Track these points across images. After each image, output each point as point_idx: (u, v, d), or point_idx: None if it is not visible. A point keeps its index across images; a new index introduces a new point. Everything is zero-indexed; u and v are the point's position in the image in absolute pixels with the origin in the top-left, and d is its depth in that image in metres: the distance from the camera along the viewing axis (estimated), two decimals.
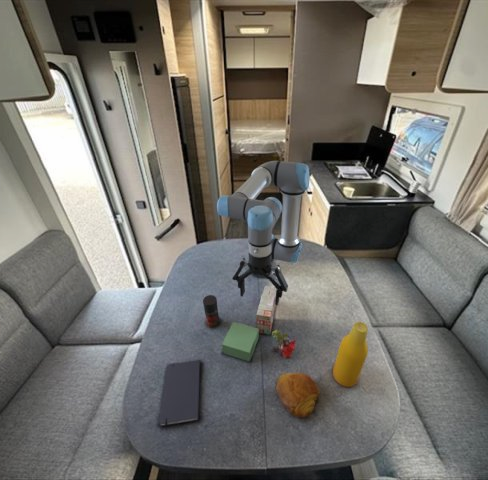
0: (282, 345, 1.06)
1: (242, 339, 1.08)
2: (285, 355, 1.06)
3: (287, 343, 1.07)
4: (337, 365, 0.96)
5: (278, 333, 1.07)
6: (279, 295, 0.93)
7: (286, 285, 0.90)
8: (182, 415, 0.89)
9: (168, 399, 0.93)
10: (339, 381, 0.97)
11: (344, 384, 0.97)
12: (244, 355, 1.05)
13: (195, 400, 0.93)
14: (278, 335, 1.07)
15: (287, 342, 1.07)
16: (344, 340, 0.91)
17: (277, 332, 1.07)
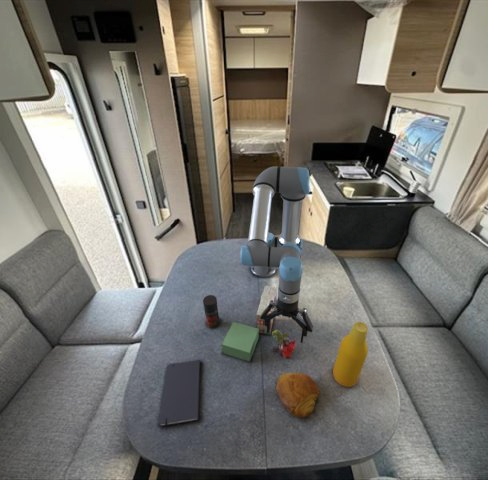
0: (282, 345, 1.06)
1: (242, 339, 1.08)
2: (285, 355, 1.06)
3: (287, 343, 1.07)
4: (337, 365, 0.96)
5: (278, 333, 1.07)
6: (304, 334, 0.99)
7: (311, 326, 0.97)
8: (182, 415, 0.89)
9: (168, 399, 0.93)
10: (339, 381, 0.97)
11: (344, 384, 0.97)
12: (244, 355, 1.05)
13: (195, 400, 0.92)
14: (278, 335, 1.07)
15: (287, 342, 1.07)
16: (344, 340, 0.91)
17: (277, 332, 1.07)
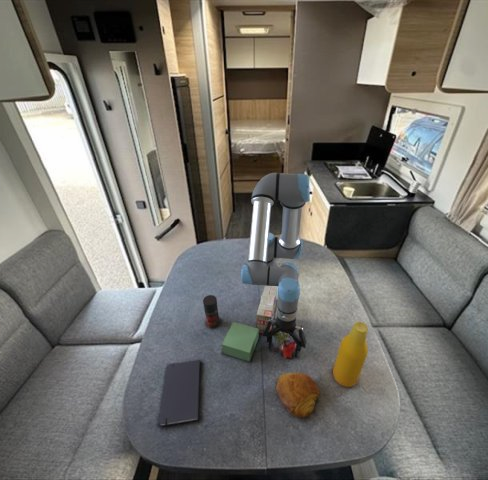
0: (282, 345, 1.06)
1: (242, 339, 1.08)
2: (285, 355, 1.06)
3: (287, 343, 1.07)
4: (337, 365, 0.96)
5: (278, 333, 1.07)
6: (298, 349, 1.05)
7: (305, 342, 1.03)
8: (182, 415, 0.89)
9: (168, 399, 0.93)
10: (339, 381, 0.97)
11: (344, 384, 0.97)
12: (244, 355, 1.05)
13: (195, 400, 0.92)
14: (279, 336, 1.07)
15: (287, 342, 1.07)
16: (344, 340, 0.91)
17: None
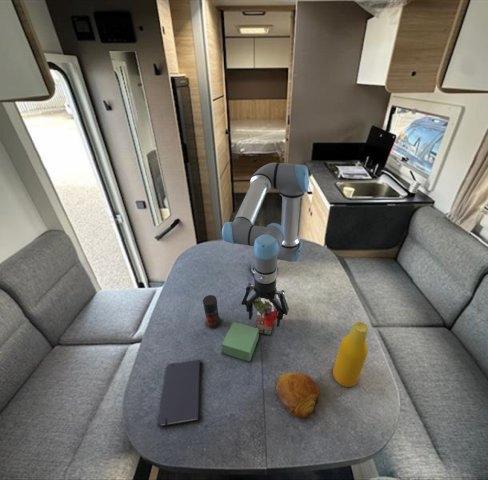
0: (263, 314, 0.98)
1: (242, 339, 1.08)
2: (267, 325, 0.98)
3: (269, 312, 0.99)
4: (337, 365, 0.96)
5: (259, 301, 0.99)
6: (280, 318, 0.97)
7: (287, 309, 0.95)
8: (182, 415, 0.89)
9: (168, 399, 0.93)
10: (339, 381, 0.97)
11: (344, 384, 0.97)
12: (244, 355, 1.05)
13: (195, 400, 0.92)
14: (259, 304, 0.98)
15: (269, 311, 0.99)
16: (344, 340, 0.91)
17: (258, 300, 0.99)
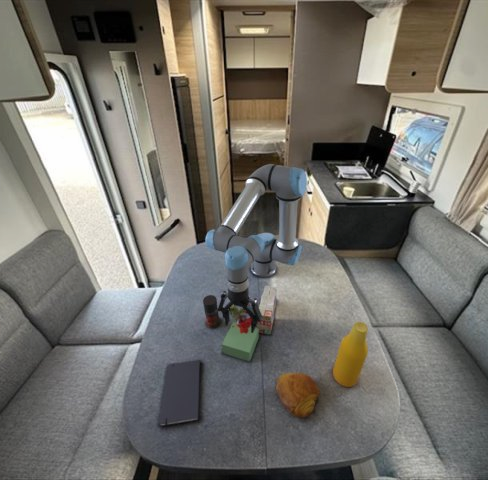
0: (238, 320, 1.02)
1: (242, 339, 1.08)
2: (241, 331, 1.02)
3: (244, 319, 1.03)
4: (337, 365, 0.96)
5: (234, 308, 1.03)
6: (254, 324, 1.01)
7: (260, 316, 0.99)
8: (182, 415, 0.89)
9: (168, 399, 0.93)
10: (339, 381, 0.97)
11: (344, 384, 0.97)
12: (244, 355, 1.05)
13: (195, 400, 0.92)
14: (234, 311, 1.03)
15: (244, 317, 1.03)
16: (344, 340, 0.91)
17: (233, 307, 1.03)
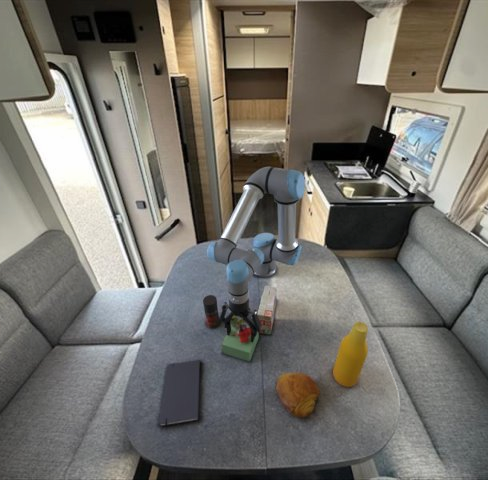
0: (238, 330, 1.05)
1: None
2: (241, 340, 1.05)
3: (244, 328, 1.06)
4: (337, 365, 0.96)
5: (235, 318, 1.06)
6: (254, 334, 1.05)
7: (260, 326, 1.02)
8: (182, 415, 0.89)
9: (168, 399, 0.93)
10: (339, 381, 0.97)
11: (344, 384, 0.97)
12: (244, 355, 1.05)
13: (195, 400, 0.92)
14: (235, 320, 1.06)
15: (244, 327, 1.06)
16: (344, 340, 0.91)
17: (234, 317, 1.07)
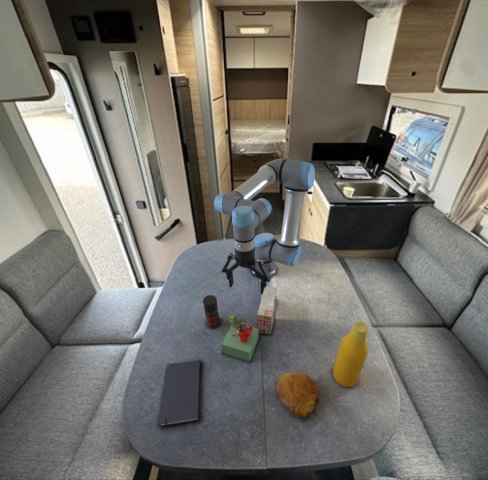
0: (238, 330, 1.05)
1: None
2: (241, 340, 1.05)
3: (244, 328, 1.06)
4: (337, 365, 0.96)
5: (235, 318, 1.06)
6: (263, 285, 1.03)
7: (269, 276, 1.01)
8: (182, 415, 0.89)
9: (168, 399, 0.93)
10: (339, 381, 0.97)
11: (344, 384, 0.97)
12: (244, 355, 1.05)
13: (195, 400, 0.92)
14: (235, 320, 1.06)
15: (244, 327, 1.06)
16: (344, 340, 0.91)
17: (234, 317, 1.07)
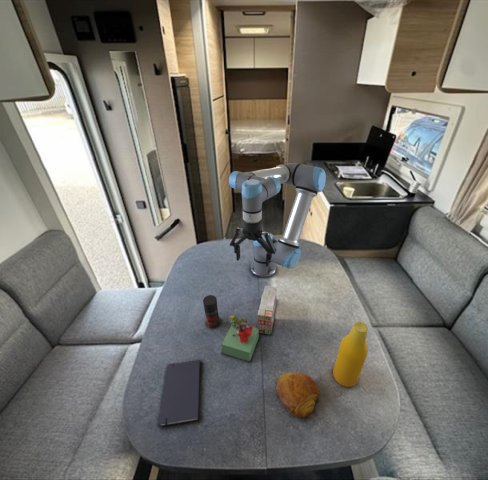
0: (238, 330, 1.05)
1: None
2: (241, 340, 1.05)
3: (244, 328, 1.06)
4: (337, 365, 0.96)
5: (235, 318, 1.06)
6: (269, 258, 1.10)
7: (274, 248, 1.08)
8: (182, 415, 0.89)
9: (168, 399, 0.93)
10: (339, 381, 0.97)
11: (344, 384, 0.97)
12: (244, 355, 1.05)
13: (195, 400, 0.92)
14: (234, 320, 1.06)
15: (244, 327, 1.06)
16: (344, 340, 0.91)
17: (234, 317, 1.07)
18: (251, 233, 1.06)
